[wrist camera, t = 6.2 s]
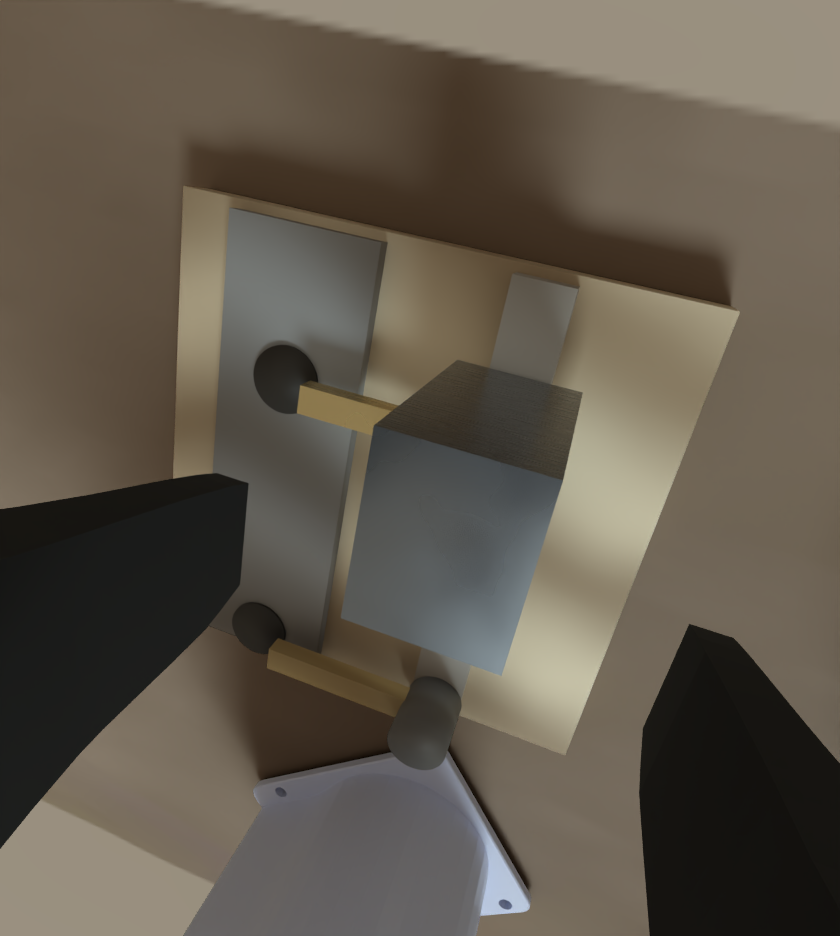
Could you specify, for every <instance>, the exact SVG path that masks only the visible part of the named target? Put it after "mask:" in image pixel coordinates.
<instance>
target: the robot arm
mask: <svg viewBox="0 0 840 936" xmlns="http://www.w3.org/2000/svg"><path fill="white" fill-rule="evenodd" d="M248 485H249V483H247V482H243V481H240V480H237V479H234V478H231V477H228V476H225V475H222V474H218V473H211V474H200V475H193V476H186V477H180V478H174V479H169V480H164V481H158V482H153V483H148V484H143V485H138V486H133V487H128V488H122V489H117V490H112V491H107V492H102V493H97V494H92V495H86V496H80V497H74V498H68V499H62V500H56V501H50V502H44V503H38V504H32V505H26V506H20V507H13V508H6V509H0V848H1V847H2V846H3V845H4V843H5V842H6V841H7V840H8V839H9V837H10V836H11V835H12V834H13V832H14V831H15V830H16V829H17V827H18V826H19V825H20V824H21V822H22V821H23V820H24V819H25V818H26V816H27V815H28V814H29V813H30V811H31V810H32V809H33V808H34V806H35V805H36V804H37V803H38V802H39V801H40V800H41V798H42V797H43V796H44V795H45V794H46V793H47V791H48V790H49V789H50V788H51V787H52V786H53V784H54V783H55V782H56V781H57V780H58V778H59V777H60V776H61V775H62V774H63V773H64V771H65V770H66V769H67V768H68V767H69V766H70V764H71V763H72V762H73V761H74V760H75V759H76V757H77V756H78V755H79V754H80V753H81V752H82V751H83V750H84V749H85V748H86V747H87V745H88V744H89V743H90V742H91V741H92V740H93V739H94V738H95V737H96V736H97V735H98V734H99V733H100V732H101V731H102V730H103V729H104V728H105V727H106V726H107V725H108V724H109V723H110V722H111V721H112V720H113V719H114V718H115V717H116V716H117V715H118V714H119V713H120V712H121V711H122V710H123V709H124V708H125V707H127V706H128V705H129V704H130V703H131V702H132V701H133V700H134V699H135V698H136V697H137V696H138V695H139V694H140V693H141V692H142V691H143V690H144V689H145V688H146V687H147V686H148V685H149V684H150V683H151V682H152V681H153V680H155V679H156V678H157V677H158V676H159V675H160V674H161V673H162V672H163V671H164V670H165V669H166V668H167V667H168V666H169V665H170V664H171V663H172V662H173V661H174V660H175V659H176V658H177V657H178V656H179V655H180V654H181V653H182V652H183V651H184V650H185V649H186V648H187V647H188V646H189V645H190V644H191V643H192V642H193V641H194V640H195V639H196V638H197V637H198V636H199V635H200V634H201V633H202V632H203V631H204V630H205V629H206V628H207V627H208V626H209V624H210V623H211V622H212V621H213V619H214V618H215V617H216V616H217V614H218V613H219V612H220V611H221V609H222V608H223V607H224V605H225V604H226V603H227V601H228V600H229V599H230V597H231V596H232V595H233V593H234V592H235V591H236V589H237V588H238V587H239V585H240V579H241V568H242V556H243V544H244V532H245V521H246V509H247V497H248ZM253 793H254V796H255V798H256V799H257V801H258V802H259V804H260V805H261V807H262V809H261V811H260V812H259V814H258V816H257V817H256V819H255V820H254V822H253V824H252V825H251V827H250V828H249V830H248V832H247V833H246V835H245V836H244V838H243V840H242V841H241V843H240V845H239V846H238V848H237V849H236V851H235V853H234V854H233V856H232V857H231V859H230V861H229V862H228V864H227V865H226V867H225V869H224V870H223V872H222V874H221V875H220V877H219V878H218V880H217V882H216V883H215V885H214V887H213V888H212V890H211V891H210V893H209V895H208V896H207V898H206V899H205V901H204V903H203V904H202V906H201V907H200V909H199V911H198V912H197V914H196V915H195V917H194V919H193V920H192V922H191V924H190V925H189V927H188V928H187V930H186V932H185V933H184V935H183V936H476V934H477V929H478V924H479V919H480V916H481V915H493V914H506V913H518V912H525V911H527V910H528V909H529V908H530V902H531V896H530V893H529V891H528V890H527V888H526V886H525V884H524V883H523V881H522V879H521V877H520V876H519V874H518V872H517V870H516V869H515V867H514V865H513V863H512V862H511V860H510V858H509V856H508V855H507V853H506V851H505V849H504V848H503V846H502V844H501V843H500V841H499V839H498V837H497V836H496V834H495V832H494V830H493V829H492V827H491V825H490V823H489V822H488V820H487V818H486V816H485V815H484V813H483V811H482V809H481V808H480V806H479V804H478V802H477V801H476V799H475V797H474V795H473V794H472V792H471V790H470V788H469V787H468V785H467V783H466V781H465V780H464V778H463V776H462V774H461V773H460V771H459V769H458V767H457V766H456V764H455V762H454V760H453V759H452V757H451V755H450V753H449V752H448V751H447V754H446V757H445V759H444V761H443V763H442V764H441V765H440V766H438V767H436V768H434V769H431V770H418V769H414V768H411V767H409V766H407V765H405V764H403V763H402V762H400V761H399V760H398V759H397V758H396V757H395V756H394V755H393V753H392V752H391V753H386V754H381V755H377V756H372V757H367V758H362V759H358V760H353V761H348V762H344V763H339V764H334V765H330V766H325V767H320V768H316V769H311V770H306V771H302V772H297V773H292V774H288V775H283V776H278V777H274V778H269V779H264V780H261V781H259V782H258V783H257V785H256V786H255V788H254V789H253ZM639 796H640V812H641V826H642V841H643V854H644V867H645V880H646V893H647V906H648V919H649V932H650V936H840V763H839V762H838V761H837V760H836V759H835V758H834V756H833V755H832V754H831V753H830V752H829V751H828V749H827V748H826V747H825V746H824V745H823V744H822V742H821V741H820V740H819V739H818V738H817V737H816V735H815V734H814V733H813V732H812V731H811V729H810V728H809V727H808V726H807V725H806V723H805V722H804V721H803V720H802V719H801V717H800V716H799V715H798V714H797V713H796V711H795V710H794V709H793V708H792V707H791V705H790V704H789V703H788V702H787V700H786V699H785V698H784V697H783V696H782V694H781V693H780V692H779V691H778V689H777V688H776V687H775V686H774V685H773V683H772V682H771V681H770V680H769V678H768V677H767V676H766V675H765V674H764V672H763V671H762V670H761V669H760V668H759V666H758V665H757V664H756V663H755V662H754V660H753V659H752V658H751V657H750V656H749V654H748V653H747V652H746V651H745V650H744V649H743V648H742V647H741V646H740V644H739V643H738V642H737V641H736V640H735V639H734V638H732V637H729V636H725V635H722V634H719V633H716V632H713V631H710V630H707V629H703V628H700V627H697V626H694V625H691V624H689V626H688V628H687V631H686V633H685V635H684V637H683V640H682V642H681V644H680V646H679V649H678V651H677V653H676V655H675V658H674V660H673V662H672V664H671V667H670V669H669V671H668V673H667V676H666V678H665V680H664V682H663V685H662V687H661V689H660V691H659V694H658V696H657V698H656V700H655V703H654V705H653V707H652V709H651V712H650V714H649V716H648V718H647V721H646V723H645V725H644V727H643V737H642V751H641V767H640V789H639Z"/></svg>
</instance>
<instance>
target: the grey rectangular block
mask: <svg viewBox="0 0 840 936" xmlns="http://www.w3.org/2000/svg"><path fill="white" fill-rule="evenodd" d="M582 394H583V392H579V391H575V390H571V389H567V388H564V387H560V386H556V385H552V384H548V383H545V382H541V381H537V380H533V379H529V378H525V377H522V376H518V375H514V374H510V373H506V372H503V371H499V370H495V369H491V368H487V367H484V366H480V365H476V364H472V363H468V362H465V361H461V360H456V361H455V362H454V363H453V364H451V365H450V366H449V367H447V368H446V369H445V370H444V371H442V372H441V373H440V374H439V375H437V376H436V377H435V378H433V379H432V380H431V381H430V382H428V383H427V384H426V385H425V386H423V387H422V388H421V389H419V390H418V391H417V392H416V393H414V394H413V395H412V396H411V397H409V398H408V399H407V400H405V401H404V402H403V403H402V404H400V405H395V404H392V403H388V402H384V401H381V400H377V399H374V398H370V397H367V396H363V395H360V394H356V393H353V392H349V391H346V390H342V389H339V388H335V387H331V386H328V385H324V384H321V383H317V382H314V381H308V382H306V383H304V384H302V385H300V391H299V399H298V408H297V413H298V414H301V415H304V416H308V417H311V418H315V419H318V420H321V421H325V422H328V423H331V424H335V425H338V426H342V427H345V428H348V429H352V430H355V431H359V432H362V433H365V434H369V435H372V439H371V445H370V451H369V456H368V462H367V468H366V474H365V480H364V485H363V491H362V497H361V503H360V509H359V514H358V520H357V526H356V532H355V538H354V543H353V549H352V555H351V561H350V567H349V572H348V578H347V584H346V590H345V596H344V601H343V607H342V613H341V618H342V619H344V620H347V621H350V622H353V623H356V624H358V625H361V626H364V627H367V628H369V629H372V630H375V631H378V632H381V633H383V634H386V635H389V636H392V637H394V638H397V639H400V640H403V641H406V642H408V643H411V644H414V645H417V646H419V647H422V648H425V649H428V650H431V651H433V652H436V653H439V654H442V655H444V656H447V657H450V658H453V659H455V660H458V661H461V662H464V663H467V664H469V665H472V666H475V667H478V668H480V669H483V670H486V671H489V672H492V673H494V674H497V675H500V676H502V673H503V670H504V667H505V663H506V660H507V657H508V654H509V651H510V648H511V644H512V641H513V638H514V635H515V632H516V628H517V625H518V622H519V619H520V616H521V613H522V609H523V606H524V603H525V600H526V597H527V594H528V590H529V587H530V584H531V581H532V578H533V575H534V571H535V568H536V565H537V562H538V559H539V556H540V552H541V549H542V546H543V543H544V540H545V536H546V533H547V530H548V527H549V524H550V521H551V517H552V514H553V511H554V508H555V505H556V502H557V498H558V495H559V492H560V489H561V486H562V483H563V479H564V474H565V470H566V466H567V461H568V457H569V452H570V448H571V443H572V439H573V434H574V430H575V426H576V421H577V417H578V412H579V408H580V403H581V399H582Z"/></svg>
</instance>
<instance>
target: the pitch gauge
mask: <svg viewBox="0 0 840 936" xmlns="http://www.w3.org/2000/svg"><path fill="white" fill-rule="evenodd" d="M739 313H740V311H738V310H737V309H735V308H733V307H732V306H728V305H724V304H719V303H715V302H710V301H706V300H701V299H697V298H692V297H688V296H684V295H679V294H675V293H670V292H666V291H661V290H657V289H653V288H648V287H644V286H639V285H635V284H630V283H626V282H621V281H617V280H613V279H608V278H604V277H599V276H595V275H590V274H586V273H582V272H577V271H573V270H568V269H564V268H559V267H555V266H550V265H546V264H542V263H537V262H533V261H528V260H524V259H519V258H515V257H510V256H506V255H502V254H497V253H493V252H488V251H484V250H479V249H475V248H471V247H466V246H462V245H457V244H453V243H448V242H444V241H439V240H435V239H431V238H426V237H422V236H417V235H413V234H408V233H404V232H400V231H395V230H391V229H386V228H382V227H377V226H373V225H368V224H364V223H360V222H355V221H351V220H346V219H342V218H337V217H333V216H329V215H324V214H320V213H315V212H311V211H306V210H302V209H297V208H293V207H289V206H284V205H280V204H275V203H271V202H266V201H262V200H258V199H253V198H249V197H244V196H240V195H235V194H231V193H226V192H222V191H218V190H213V189H209V188H200V187H191V186H183V207H182V236H181V264H180V292H179V321H178V349H177V378H176V406H175V434H174V463H173V479H174V478H180V477H186V476H193V475H200V474H211V473H218V474H222V475H225V476H228V477H231V478H234V479H237V480H240V481H243V482H247V483H249V485H248V497H247V509H246V521H245V532H244V544H243V556H242V568H241V579H240V585H239V587H238V588H237V589H236V591H235V592H234V593H233V595H232V596H231V597H230V599H229V600H228V601H227V603H226V604H225V605H224V607H223V608H222V609H221V611H220V612H219V613H218V614H217V616H216V617H215V618H214V619H213V621H212V622H211V623H210V624H209V626H210V627H213V628H216V629H218V630H221V631H224V632H226V633H229V634H231V635H234V636H237V638H238V639H239V641H240V642H241V643H242V644H243V645H244V646H246V647H247V648H248V649H250V650H252V651H254V652H257V653H260V654H268V661H267V668H268V669H271V670H273V671H276V672H278V673H281V674H284V675H286V676H289V677H291V678H294V679H296V680H299V681H302V682H304V683H307V684H309V685H312V686H315V687H317V688H320V689H322V690H325V691H327V692H330V693H333V694H335V695H338V696H340V697H343V698H346V699H348V700H351V701H353V702H356V703H359V704H361V705H364V706H366V707H369V708H371V709H374V710H377V711H379V712H382V713H384V714H387V715H390V716H392V717H395V719H394V721H393V723H392V725H391V728H390V730H389V732H388V736H387V741H388V745H389V748H390V750H391V752H392V753H393V755H394V756H395V757H396V758H397V759H398V760H399V761H400V762H402V763H403V764H405V765H407V766H409V767H411V768H414V769H418V770H431V769H434V768H436V767H438V766H440V765H441V764H442V763H443V761H444V759H445V757H446V754H447V751H448V748H449V744H450V741H451V738H452V735H453V732H454V729H455V726H456V723H457V720H458V717H459V715H460V716H462V717H465V718H467V719H470V720H473V721H475V722H478V723H481V724H483V725H486V726H489V727H491V728H494V729H497V730H499V731H502V732H504V733H507V734H510V735H512V736H515V737H518V738H520V739H523V740H526V741H528V742H531V743H534V744H536V745H539V746H542V747H544V748H547V749H549V750H552V751H555V752H557V753H560V754H563V755H565V754H566V752H567V749H568V747H569V744H570V742H571V739H572V737H573V734H574V732H575V729H576V726H577V724H578V721H579V719H580V716H581V714H582V711H583V709H584V706H585V704H586V701H587V699H588V696H589V693H590V691H591V688H592V686H593V683H594V681H595V678H596V676H597V673H598V671H599V668H600V666H601V663H602V660H603V658H604V655H605V653H606V650H607V648H608V645H609V643H610V640H611V638H612V635H613V633H614V630H615V628H616V625H617V622H618V620H619V617H620V615H621V612H622V610H623V607H624V605H625V602H626V600H627V597H628V595H629V592H630V589H631V587H632V584H633V582H634V579H635V577H636V574H637V572H638V569H639V567H640V564H641V562H642V559H643V557H644V554H645V551H646V549H647V546H648V544H649V541H650V539H651V536H652V534H653V531H654V529H655V526H656V524H657V521H658V518H659V516H660V513H661V511H662V508H663V506H664V503H665V501H666V498H667V496H668V493H669V491H670V488H671V486H672V483H673V480H674V478H675V475H676V473H677V470H678V468H679V465H680V463H681V460H682V458H683V455H684V453H685V450H686V447H687V445H688V442H689V440H690V437H691V435H692V432H693V430H694V427H695V425H696V422H697V420H698V417H699V414H700V412H701V409H702V407H703V404H704V402H705V399H706V397H707V394H708V392H709V389H710V387H711V384H712V382H713V379H714V376H715V374H716V371H717V369H718V366H719V364H720V361H721V359H722V356H723V354H724V351H725V349H726V346H727V343H728V341H729V338H730V336H731V333H732V331H733V328H734V326H735V323H736V321H737V318H738V316H739ZM456 360H461V361H465V362H468V363H472V364H476V365H480V366H484V367H487V368H491V369H495V370H499V371H503V372H506V373H510V374H514V375H518V376H522V377H525V378H529V379H533V380H537V381H541V382H545V383H548V384H552V385H556V386H560V387H564V388H567V389H571V390H575V391H579V392H583V394H582V399H581V403H580V408H579V412H578V417H577V421H576V426H575V430H574V434H573V439H572V443H571V448H570V452H569V457H568V461H567V466H566V470H565V474H564V479H563V483H562V486H561V489H560V492H559V495H558V498H557V502H556V505H555V508H554V511H553V514H552V517H551V521H550V524H549V527H548V530H547V533H546V536H545V540H544V543H543V546H542V549H541V552H540V556H539V559H538V562H537V565H536V568H535V571H534V575H533V578H532V581H531V584H530V587H529V590H528V594H527V597H526V600H525V603H524V606H523V609H522V613H521V616H520V619H519V622H518V625H517V628H516V632H515V635H514V638H513V641H512V644H511V648H510V651H509V654H508V657H507V660H506V663H505V667H504V670H503V673H502V676H500V675H497V674H494V673H492V672H489V671H486V670H483V669H480V668H478V667H475V666H472V665H469V664H467V663H464V662H461V661H458V660H455V659H453V658H450V657H447V656H444V655H442V654H439V653H436V652H433V651H431V650H428V649H425V648H422V647H419V646H417V645H414V644H411V643H408V642H406V641H403V640H400V639H397V638H394V637H392V636H389V635H386V634H383V633H381V632H378V631H375V630H372V629H369V628H367V627H364V626H361V625H358V624H356V623H353V622H350V621H347V620H344V619H342V618H341V613H342V607H343V601H344V596H345V590H346V584H347V578H348V572H349V567H350V561H351V555H352V549H353V543H354V538H355V532H356V526H357V520H358V514H359V509H360V503H361V497H362V491H363V485H364V480H365V474H366V468H367V462H368V456H369V451H370V445H371V439H372V435H369V434H365V433H362V432H359V431H355V430H352V429H348V428H345V427H342V426H338V425H335V424H331V423H328V422H325V421H321V420H318V419H315V418H311V417H308V416H304V415H301V414H298V413H297V408H298V399H299V391H300V385H302V384H304V383H306V382H308V381H314V382H317V383H321V384H324V385H328V386H331V387H335V388H339V389H342V390H346V391H349V392H353V393H356V394H360V395H363V396H367V397H370V398H374V399H377V400H381V401H384V402H388V403H392V404H395V405H400V404H402V403H403V402H404V401H405V400H407V399H408V398H409V397H411V396H412V395H413V394H414V393H416V392H417V391H418V390H419V389H421V388H422V387H423V386H425V385H426V384H427V383H428V382H430V381H431V380H432V379H433V378H435V377H436V376H437V375H439V374H440V373H441V372H442V371H444V370H445V369H446V368H447V367H449V366H450V365H451V364H453V363H454V362H455V361H456Z"/></svg>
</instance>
